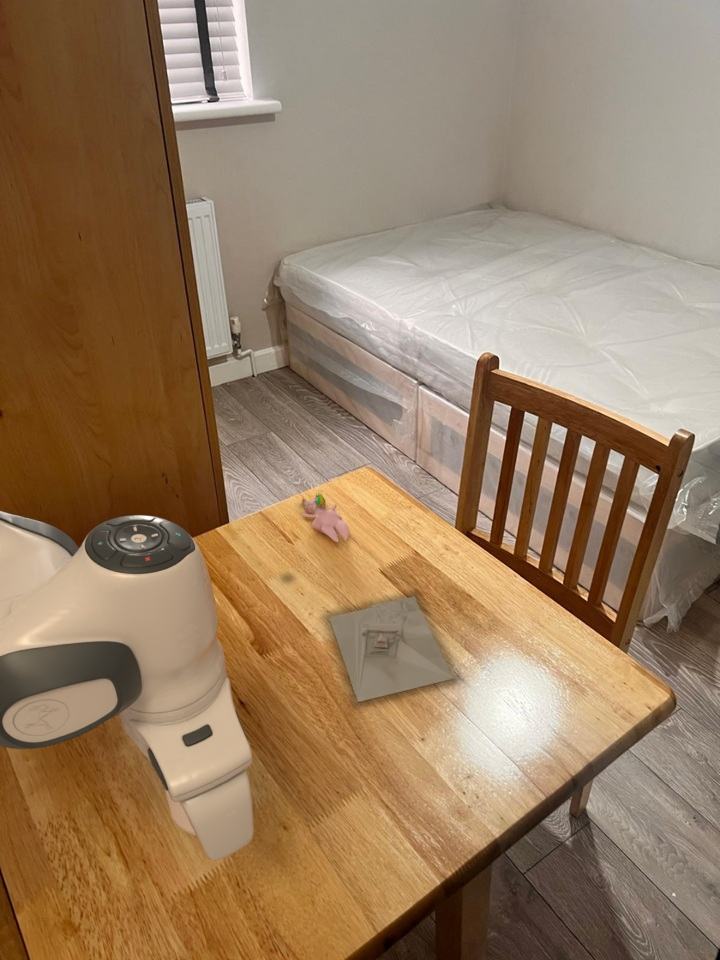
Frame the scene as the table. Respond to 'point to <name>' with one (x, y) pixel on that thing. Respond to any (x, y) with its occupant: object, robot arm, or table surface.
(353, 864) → the table surface
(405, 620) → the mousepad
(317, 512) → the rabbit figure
